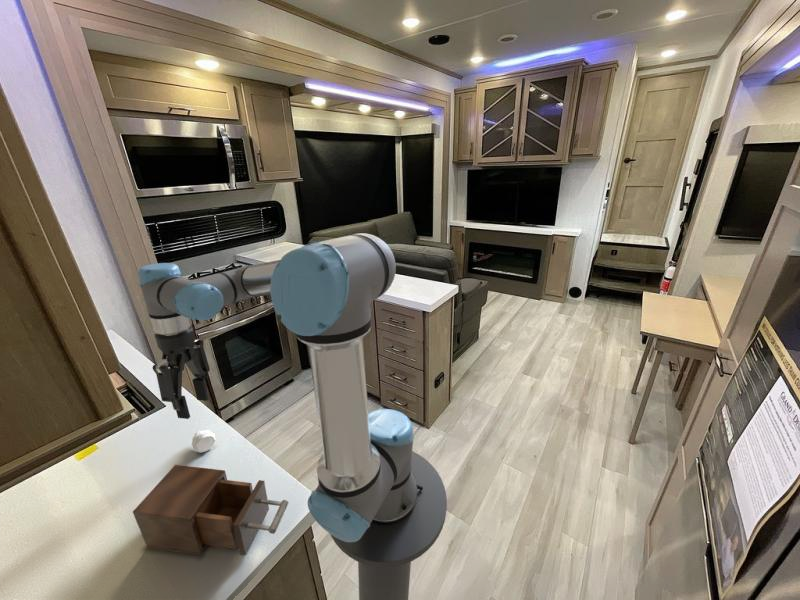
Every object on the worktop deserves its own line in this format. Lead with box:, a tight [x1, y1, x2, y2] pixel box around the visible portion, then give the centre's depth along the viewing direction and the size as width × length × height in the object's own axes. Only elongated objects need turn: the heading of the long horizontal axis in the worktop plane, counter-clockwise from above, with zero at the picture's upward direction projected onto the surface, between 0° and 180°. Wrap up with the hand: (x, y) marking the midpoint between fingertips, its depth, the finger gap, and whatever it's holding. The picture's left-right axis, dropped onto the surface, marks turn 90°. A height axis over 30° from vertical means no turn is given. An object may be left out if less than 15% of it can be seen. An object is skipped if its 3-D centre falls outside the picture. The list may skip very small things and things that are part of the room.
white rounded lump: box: [191, 429, 216, 453], centre depth 86 cm, size 6×6×5 cm
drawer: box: [194, 479, 289, 556], centre depth 65 cm, size 16×9×9 cm, turn 84°
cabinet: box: [132, 464, 228, 556], centre depth 66 cm, size 12×11×11 cm
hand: (193, 408), depth 83 cm, fingers open, 6 cm apart
